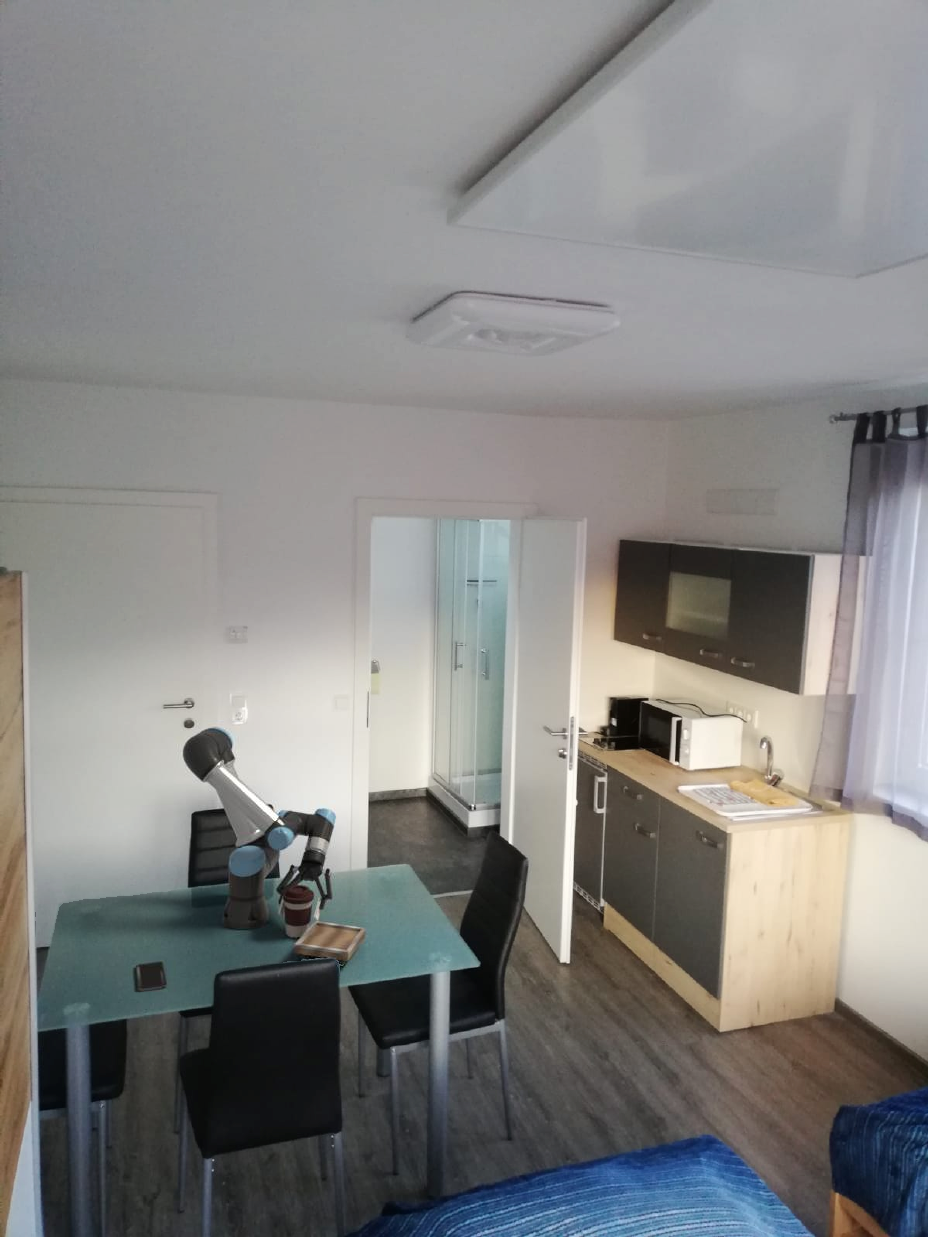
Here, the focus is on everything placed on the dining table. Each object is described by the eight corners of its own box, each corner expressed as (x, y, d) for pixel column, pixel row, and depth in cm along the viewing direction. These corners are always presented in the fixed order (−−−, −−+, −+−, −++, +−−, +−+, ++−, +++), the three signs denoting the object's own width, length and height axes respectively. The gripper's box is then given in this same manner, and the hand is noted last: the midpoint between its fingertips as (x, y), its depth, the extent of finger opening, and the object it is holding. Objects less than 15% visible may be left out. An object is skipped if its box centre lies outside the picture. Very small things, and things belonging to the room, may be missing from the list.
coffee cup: (275, 935, 288) (276, 890, 287) (294, 924, 297) (295, 880, 295) (300, 943, 284) (301, 897, 282) (318, 931, 292) (320, 887, 291)
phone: (137, 990, 250) (135, 964, 263) (137, 993, 250) (135, 968, 263) (167, 985, 252) (163, 961, 266) (167, 989, 253) (163, 964, 266)
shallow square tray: (294, 962, 271) (294, 944, 270) (314, 938, 288) (315, 920, 287) (347, 970, 268) (348, 952, 267) (365, 945, 284) (365, 928, 284)
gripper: (351, 861, 301) (335, 925, 288) (284, 855, 306) (266, 917, 293) (346, 852, 296) (330, 916, 282) (278, 845, 300) (259, 908, 287)
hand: (297, 917), depth 287 cm, fingers open, 11 cm apart
